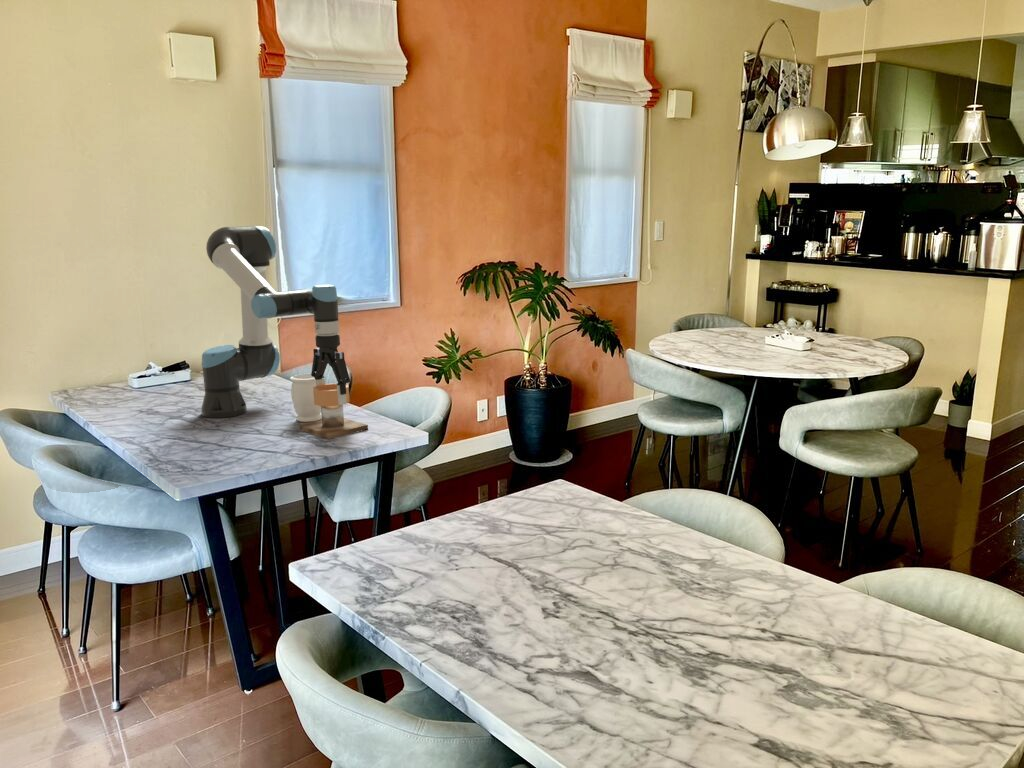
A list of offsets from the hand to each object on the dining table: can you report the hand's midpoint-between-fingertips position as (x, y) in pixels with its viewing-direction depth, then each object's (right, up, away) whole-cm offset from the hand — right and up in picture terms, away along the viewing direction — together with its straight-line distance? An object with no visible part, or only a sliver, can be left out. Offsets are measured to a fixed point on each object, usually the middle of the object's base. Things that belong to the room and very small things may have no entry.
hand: (331, 401), depth 265 cm
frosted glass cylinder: (0, -8, +2) cm, 8 cm away
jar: (-11, -7, +15) cm, 20 cm away
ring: (0, 0, 0) cm, 0 cm away
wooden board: (0, -9, +2) cm, 9 cm away
